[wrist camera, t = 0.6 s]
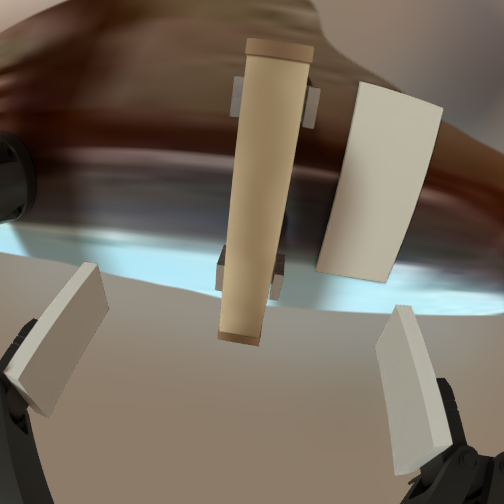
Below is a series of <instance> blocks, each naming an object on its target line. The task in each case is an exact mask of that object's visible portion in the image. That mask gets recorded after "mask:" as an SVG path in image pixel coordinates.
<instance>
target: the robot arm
mask: <svg viewBox="0 0 504 504" xmlns="http://www.w3.org/2000/svg"><path fill="white" fill-rule="evenodd" d="M35 196H36V176H35V170H34V166H33V163H32V160H31V157H30V155H29V153H28V151H27V149H26V148H25V146H24V144H23V143H22V142H21V141H20V140H19V139H18V138H17V137H16V136H15V135H14V134H12V133H10V132H7V131H0V224H3V223H7V222H10V221H14V220H16V219H18V218H20V217H21V216H23V215H24V214H25V213H27V212H28V211H29V210H30V208H31V207H32V205H33V203H34V200H35ZM108 310H109V307H108V303H107V300H106V296H105V292H104V288H103V284H102V280H101V276H100V272H99V267H98V264H94V263H88V262H84V263H83V264H82V265H81V266H80V268H79V269H78V270H77V271H76V272H75V274H74V275H73V276H72V278H70V280H69V281H68V282H67V283H66V285H65V286H64V287H63V289H62V290H61V291H60V292H59V294H58V295H57V296H56V298H55V299H54V300H53V301H52V303H51V304H50V305H49V307H48V308H47V309H46V311H45V312H44V314H43V315H42V316H41V317H40V319H39V320H37V319H32V320H31V321H30V322H28V323H27V324H26V325H25V326H24V327H23V328H22V329H21V331H20V332H19V334H18V336H17V337H16V338H15V339H14V341H13V344H11V345H10V347H9V348H8V349H7V351H6V352H5V354H4V356H3V357H2V358H1V360H0V504H54V502H53V499H52V497H51V494H50V491H49V488H48V485H47V482H46V479H45V476H44V473H43V470H42V466H41V463H40V459H39V456H38V453H37V448H36V444H35V440H34V437H33V432H32V427H31V423H30V418H29V414H28V411H27V410H26V409H27V407H28V405H29V406H30V407H31V408H32V409H33V410H34V411H35V412H36V413H38V414H40V415H42V416H44V417H46V418H48V419H49V418H50V416H51V414H52V412H53V410H54V408H55V406H56V404H57V402H58V399H59V398H60V395H61V394H62V392H63V390H64V388H65V386H66V384H67V382H68V380H69V378H70V376H71V374H72V373H73V371H74V369H75V367H76V365H77V364H78V362H79V360H80V358H81V356H82V355H83V353H84V351H85V349H86V347H87V346H88V344H89V342H90V340H91V339H92V337H93V335H94V333H95V332H96V330H97V328H98V327H99V325H100V323H101V322H102V320H103V318H104V316H105V315H106V313H107V312H108ZM375 349H376V354H377V359H378V364H379V368H380V374H381V379H382V385H383V391H384V396H385V402H386V408H387V415H388V421H389V429H390V436H391V444H392V453H393V461H394V470H395V475H402V474H408V473H413V472H414V471H416V470H418V469H419V468H420V470H421V474H420V475H418V476H417V477H415V478H413V479H412V480H411V481H410V482H409V483H408V484H409V485H410V484H412V483H414V484H413V485H412V487H411V488H410V490H409V491H408V493H407V494H406V496H405V497H404V499H403V500H402V502H401V503H400V504H504V452H502V453H500V454H498V455H497V456H496V457H489V456H483V455H478V453H477V451H476V450H475V449H474V448H473V447H471V446H468V445H467V442H466V439H465V435H464V431H463V427H462V422H461V419H460V415H459V411H458V410H457V404H456V402H455V397H454V394H453V391H452V388H451V386H450V385H449V383H448V382H447V381H446V379H445V378H436V377H435V374H434V371H433V368H432V364H431V362H430V358H429V355H428V352H427V349H426V346H425V344H424V340H423V337H422V334H421V332H420V329H419V326H418V324H417V321H416V318H415V315H414V313H413V310H412V307H411V306H405V305H396V306H395V308H394V310H393V312H392V314H391V316H390V318H389V320H388V322H387V324H386V327H385V329H384V330H383V333H382V334H381V336H380V338H379V340H378V342H377V344H376V346H375Z"/></svg>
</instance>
